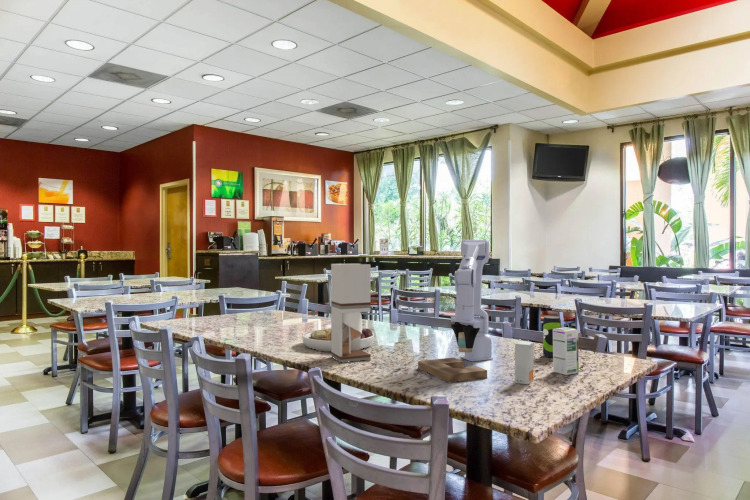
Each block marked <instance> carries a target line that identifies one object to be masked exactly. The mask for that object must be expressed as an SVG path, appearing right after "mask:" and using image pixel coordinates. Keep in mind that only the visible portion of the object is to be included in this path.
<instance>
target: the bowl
mask: <svg viewBox="0 0 750 500" xmlns="http://www.w3.org/2000/svg"><path fill="white" fill-rule="evenodd" d="M301 338H302V343H303V344H304V345H305V347H306V348H309V349H311V348H312V349H311V350H314V349H316V350H315V351H319V350H323V351H322V352H329V351H331V328H330V327H329V328H325V329H316V330H311V331H310V330H309V331H307V332H304V333H303V334H302V337H301ZM374 340H375V333H374V332H372V330H371V329H370V328H367V327H366V328H362V335H361V350H363V348H364V349H366V348H368V347H369V346H371V345H372V344H373V342H374Z"/></svg>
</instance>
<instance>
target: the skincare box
mask: <svg viewBox="0 0 750 500" xmlns="http://www.w3.org/2000/svg"><path fill="white" fill-rule="evenodd" d="M534 344H535V343H534V342H532V341H525V340H520V341H518V342H517V343H514V351H515V352H514V383H515V384H521V385H529V384H530V383H532V382H533V381H534V353H535V349H534V348H535V347H534Z"/></svg>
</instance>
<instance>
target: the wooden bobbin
mask: <svg viewBox="0 0 750 500" xmlns="http://www.w3.org/2000/svg"><path fill="white" fill-rule="evenodd" d="M457 346H458V352H459V353H463V354H465V353H469V352H472V348H470V349H467V348H466V343H465V335H464V332H459V337H458V345H457Z"/></svg>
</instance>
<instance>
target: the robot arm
mask: <svg viewBox="0 0 750 500" xmlns="http://www.w3.org/2000/svg"><path fill="white" fill-rule="evenodd" d="M460 251H461V253H460V254H461V255H462V259H461V260H460V264H459V266H458V269H457V270H455V271H454V277H453V278H454V286H455V287H454V289H455V293H456V297H455V298H456V299H455V301H456V306H455V307H456V310H455V311H456V312H455V313H456V314H455V315H452V316H450V322H451V323H452V324H450V328H451V329H452V330H453V332H454V335H455V336H454V337H455V339H456V344H457V346H458V337H459V332H464V335H465V343H466V348H467V349H470V348H472V352H469V353H464V355H460V356H459V358H461V359H463V360H467V361H469V362H479V361H480V362H481V361H489V360H493V359H494V358H493V357H492V353H493V352H492V346H493V345H492V338H491V336H490V335H489V334H488V333H489V329H490V328H489V327H490V325H489V321H490V320H489V313H488V312H487V311H486V310H484V309H483V308H482V293H483V292H482V291H483V290H482V288H483V285H482V284H483V269H484V265H485V264H487V263H489V259H490V241H489V240H488V239H487V238H486V239H464V238H463V239H462V240H461V243H460Z"/></svg>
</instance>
